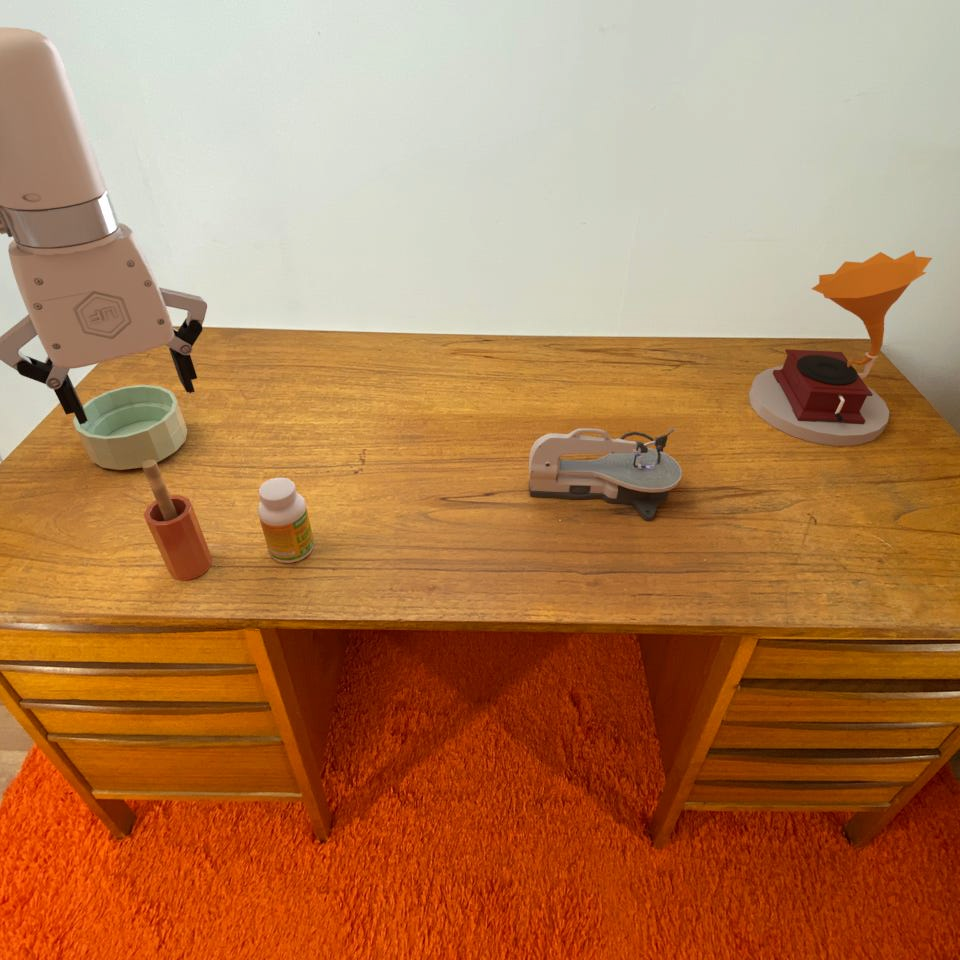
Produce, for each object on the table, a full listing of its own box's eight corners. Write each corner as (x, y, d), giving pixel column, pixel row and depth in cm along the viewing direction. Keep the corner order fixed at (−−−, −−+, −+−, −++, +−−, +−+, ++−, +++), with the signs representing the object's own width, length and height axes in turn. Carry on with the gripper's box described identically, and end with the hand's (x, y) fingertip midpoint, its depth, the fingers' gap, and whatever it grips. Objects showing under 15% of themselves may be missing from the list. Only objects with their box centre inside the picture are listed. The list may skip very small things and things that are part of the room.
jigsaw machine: (535, 453, 76) (531, 400, 85) (529, 517, 83) (526, 462, 91) (703, 458, 76) (682, 404, 84) (683, 521, 83) (665, 466, 91)
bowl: (100, 485, 86) (82, 449, 82) (82, 436, 95) (66, 402, 91) (199, 452, 92) (187, 417, 88) (174, 409, 100) (163, 375, 96)
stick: (185, 568, 75) (143, 469, 65) (181, 560, 75) (140, 462, 66) (197, 563, 75) (157, 464, 65) (194, 556, 76) (154, 457, 66)
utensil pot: (175, 586, 73) (150, 531, 67) (164, 560, 76) (139, 505, 70) (217, 569, 75) (196, 513, 69) (205, 544, 78) (184, 489, 72)
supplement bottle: (307, 565, 76) (293, 505, 70) (263, 563, 76) (245, 503, 70) (319, 533, 80) (307, 474, 74) (277, 531, 80) (261, 471, 74)
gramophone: (855, 378, 111) (922, 232, 94) (907, 450, 95) (997, 290, 79) (735, 372, 112) (781, 226, 95) (767, 442, 96) (828, 282, 80)
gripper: (-67, 257, 44) (40, 451, 56) (188, 214, 52) (237, 392, 63) (-68, 225, 49) (30, 409, 60) (166, 190, 57) (215, 360, 68)
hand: (136, 401), depth 62 cm, fingers open, 9 cm apart
